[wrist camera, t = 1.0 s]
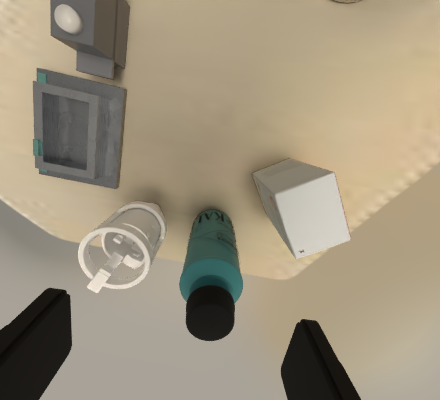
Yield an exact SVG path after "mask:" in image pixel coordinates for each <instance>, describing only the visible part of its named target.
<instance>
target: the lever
mask: <svg viewBox="0 0 440 400" xmlns="http://www.w3.org/2000/svg"><path fill="white" fill-rule="evenodd" d="M129 12H130V6H129V5H128V3H127V2H126V0H51V36H53V37H54V38H56V39H58V40H59V41H61V42H63V43H64V44H66V45H68V46H69V47H71V48H73V49H74V50H76V51H77V69H76V70H77V71H79V72H83V73H87V74H92V75H96V76H100V77H104V78H108V79H112V80H113V77H114V66H115V67H119V68H123V69H125V62H126V50H127V37H128V25H129Z"/></svg>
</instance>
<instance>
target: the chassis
mask: <svg viewBox="0 0 440 400" xmlns="http://www.w3.org/2000/svg"><path fill="white" fill-rule="evenodd" d="M126 95H127V90H126V89H124V88H120V87H115V86H111V85H107V84H103V83H99V82H94V81H90V80H86V79H82V78H78V77H73V76H69V75H65V74H61V73H56V72H52V71H48V70H44V69H40V68H37V82H36V81H33V103H34V138H35V139H33V154H34V155H35V168H39V174H43V175H48V176H53V177H58V178H63V179H68V180H73V181H78V182H83V183H88V184H93V185H99V186H104V187H109V188H114V189H117V188H118V187H119V177H120V165H121V153H122V142H123V130H124V118H125V106H126Z"/></svg>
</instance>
